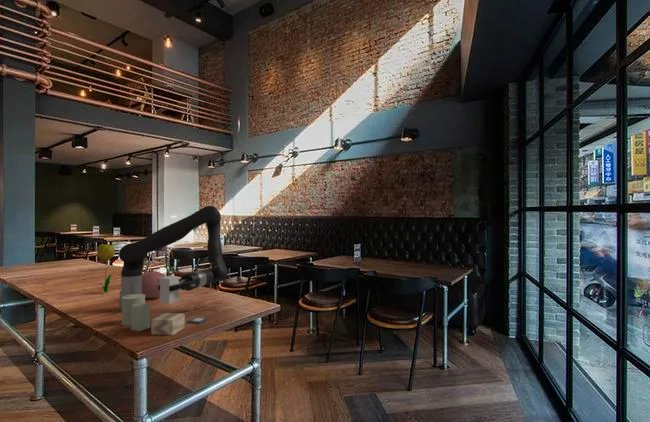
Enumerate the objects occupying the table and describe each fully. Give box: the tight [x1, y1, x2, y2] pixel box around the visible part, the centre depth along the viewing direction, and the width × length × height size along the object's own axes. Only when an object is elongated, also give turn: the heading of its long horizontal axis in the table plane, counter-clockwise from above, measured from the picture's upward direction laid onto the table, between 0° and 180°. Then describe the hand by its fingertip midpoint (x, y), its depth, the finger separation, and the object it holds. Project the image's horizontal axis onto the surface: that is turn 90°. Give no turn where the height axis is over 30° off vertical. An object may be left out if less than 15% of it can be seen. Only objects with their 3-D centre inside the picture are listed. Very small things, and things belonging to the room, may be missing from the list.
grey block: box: [159, 275, 180, 305], centre depth 137 cm, size 5×5×10 cm
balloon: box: [142, 270, 166, 300], centre depth 189 cm, size 15×20×15 cm
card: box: [186, 316, 210, 325], centre depth 149 cm, size 7×6×1 cm
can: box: [120, 294, 146, 327], centre depth 147 cm, size 9×9×12 cm
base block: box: [150, 312, 186, 336], centre depth 137 cm, size 9×9×6 cm
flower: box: [96, 243, 116, 294], centre depth 201 cm, size 9×8×30 cm
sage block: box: [130, 302, 151, 332], centre depth 139 cm, size 5×5×10 cm
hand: (164, 288), depth 135 cm, fingers closed on grey block, 5 cm apart
